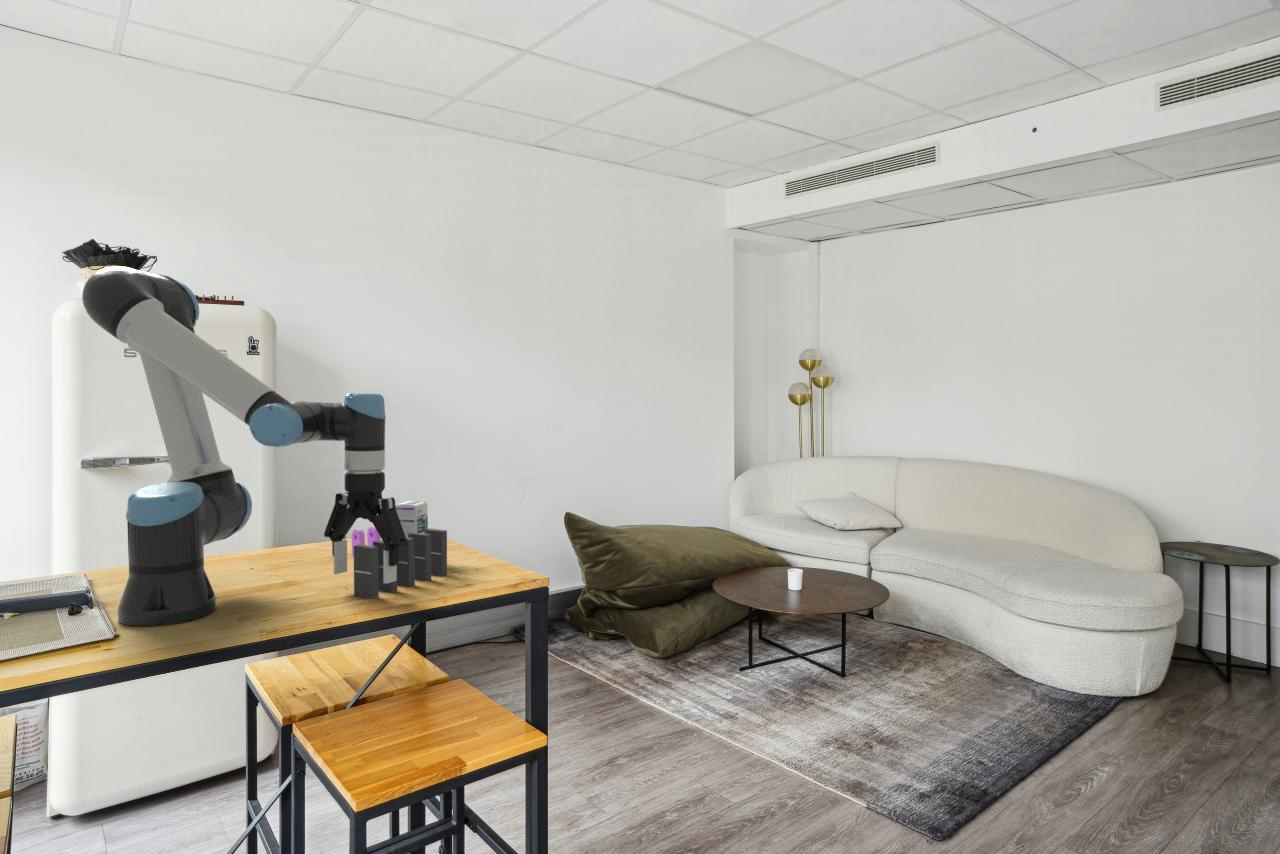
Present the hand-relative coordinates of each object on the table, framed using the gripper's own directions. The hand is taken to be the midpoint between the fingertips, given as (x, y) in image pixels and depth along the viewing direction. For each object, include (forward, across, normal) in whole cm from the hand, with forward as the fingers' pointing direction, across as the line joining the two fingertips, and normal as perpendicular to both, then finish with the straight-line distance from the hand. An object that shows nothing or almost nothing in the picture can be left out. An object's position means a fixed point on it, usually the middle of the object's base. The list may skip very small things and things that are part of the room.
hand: (364, 577), depth 152 cm
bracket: (+4, +23, -25) cm, 34 cm away
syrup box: (+4, +12, -25) cm, 28 cm away
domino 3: (+4, 0, -10) cm, 11 cm away
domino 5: (+4, 0, -20) cm, 21 cm away
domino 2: (+4, 0, -5) cm, 6 cm away
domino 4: (+4, 0, -15) cm, 16 cm away
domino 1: (+4, 0, 0) cm, 4 cm away
